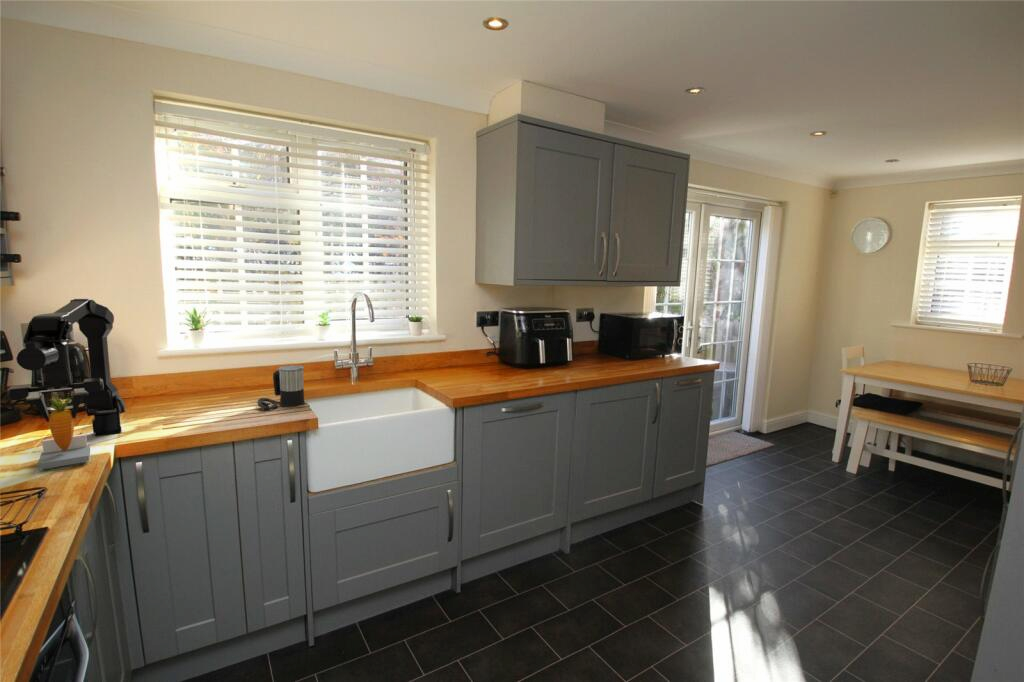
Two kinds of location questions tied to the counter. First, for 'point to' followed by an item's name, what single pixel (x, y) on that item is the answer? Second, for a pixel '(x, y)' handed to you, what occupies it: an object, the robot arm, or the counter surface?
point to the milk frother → (286, 388)
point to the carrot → (61, 423)
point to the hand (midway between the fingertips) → (61, 419)
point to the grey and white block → (64, 453)
